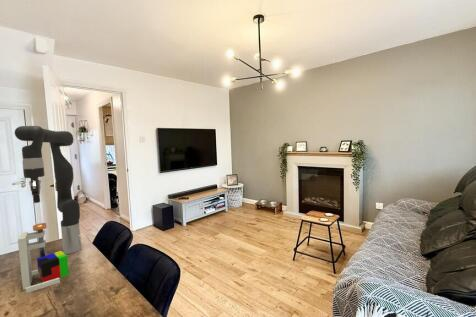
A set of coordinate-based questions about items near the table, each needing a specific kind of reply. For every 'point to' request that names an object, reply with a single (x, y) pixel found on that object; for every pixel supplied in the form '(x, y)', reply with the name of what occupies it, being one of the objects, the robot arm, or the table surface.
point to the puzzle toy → (52, 266)
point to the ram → (39, 229)
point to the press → (26, 261)
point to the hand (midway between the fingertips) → (37, 202)
